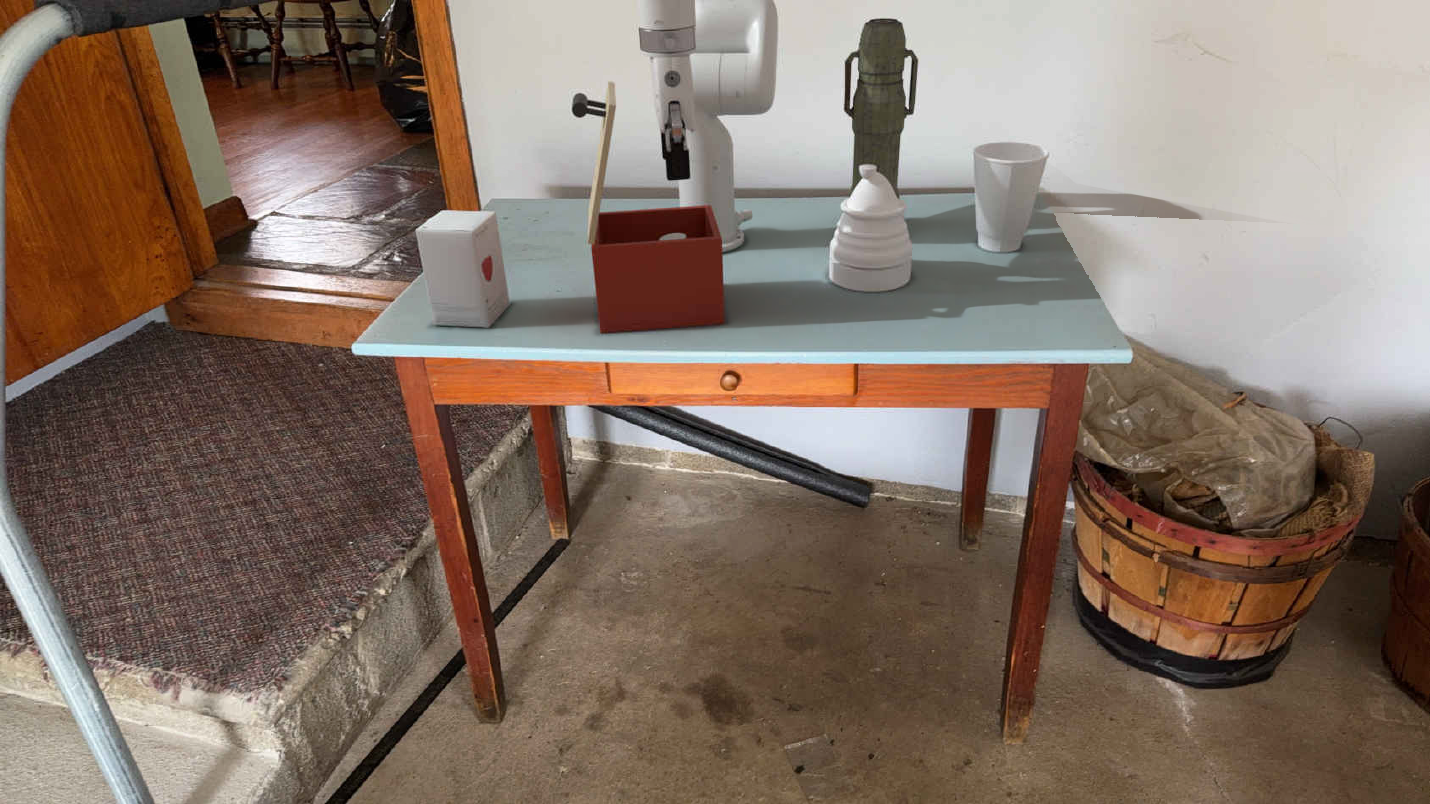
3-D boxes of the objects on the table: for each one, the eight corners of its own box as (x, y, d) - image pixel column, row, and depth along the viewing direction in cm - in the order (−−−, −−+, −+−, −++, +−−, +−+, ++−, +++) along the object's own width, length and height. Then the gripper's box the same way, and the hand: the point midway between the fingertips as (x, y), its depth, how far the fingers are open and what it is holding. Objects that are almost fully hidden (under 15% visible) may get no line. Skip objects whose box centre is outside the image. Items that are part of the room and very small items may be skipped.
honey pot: (880, 298, 140) (887, 181, 131) (812, 278, 148) (815, 166, 139) (925, 273, 148) (935, 161, 139) (859, 255, 156) (864, 148, 147)
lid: (614, 82, 130) (576, 74, 129) (616, 105, 117) (573, 97, 116) (594, 210, 139) (558, 203, 138) (594, 244, 126) (554, 238, 125)
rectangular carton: (489, 329, 135) (472, 231, 128) (432, 326, 137) (412, 229, 129) (512, 304, 143) (497, 210, 135) (457, 301, 144) (440, 208, 137)
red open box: (713, 284, 147) (710, 204, 140) (724, 323, 134) (722, 238, 128) (600, 292, 146) (592, 212, 139) (600, 333, 133) (591, 247, 126)
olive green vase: (835, 220, 171) (842, 18, 154) (899, 218, 171) (913, 15, 154) (843, 237, 163) (851, 25, 146) (909, 234, 164) (925, 22, 146)
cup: (1033, 234, 161) (1046, 142, 153) (1037, 259, 151) (1052, 162, 143) (963, 231, 164) (972, 140, 156) (963, 255, 154) (973, 160, 146)
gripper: (703, 51, 114) (708, 186, 123) (691, 27, 129) (696, 149, 138) (642, 54, 114) (652, 190, 123) (637, 30, 128) (646, 153, 137)
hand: (676, 168), depth 130 cm, fingers open, 9 cm apart
